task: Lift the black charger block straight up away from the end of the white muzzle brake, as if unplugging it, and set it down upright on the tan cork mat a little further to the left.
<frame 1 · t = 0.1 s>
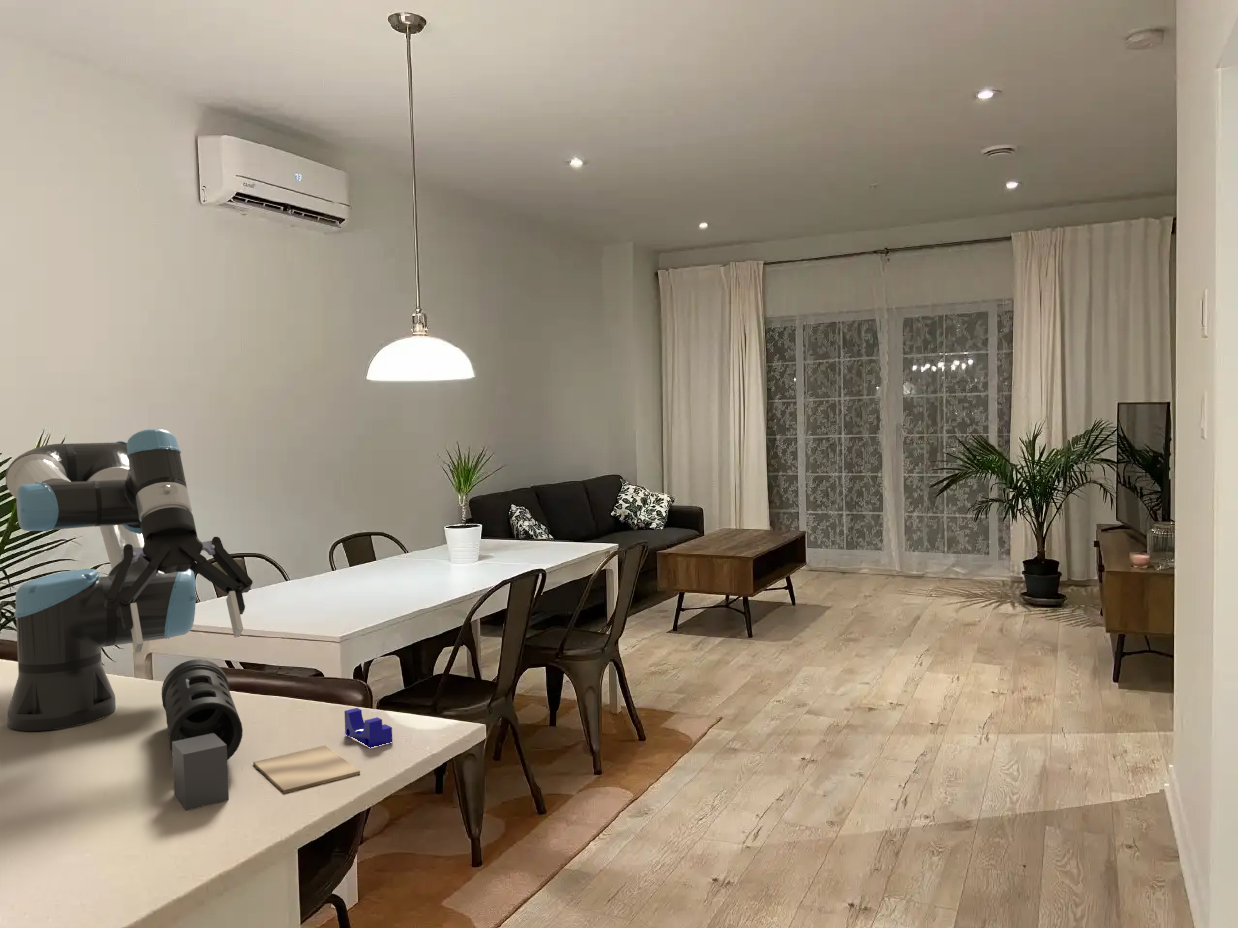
hand: (190, 640, 136), 15 cm above the kitchen counter, tool tilted 35°, fingers open, 13 cm apart
muzzle brake: (201, 747, 136), on the kitchen counter
cable holder: (368, 741, 137), on the kitchen counter
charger: (201, 798, 116), on the kitchen counter
mat: (305, 769, 125), on the kitchen counter
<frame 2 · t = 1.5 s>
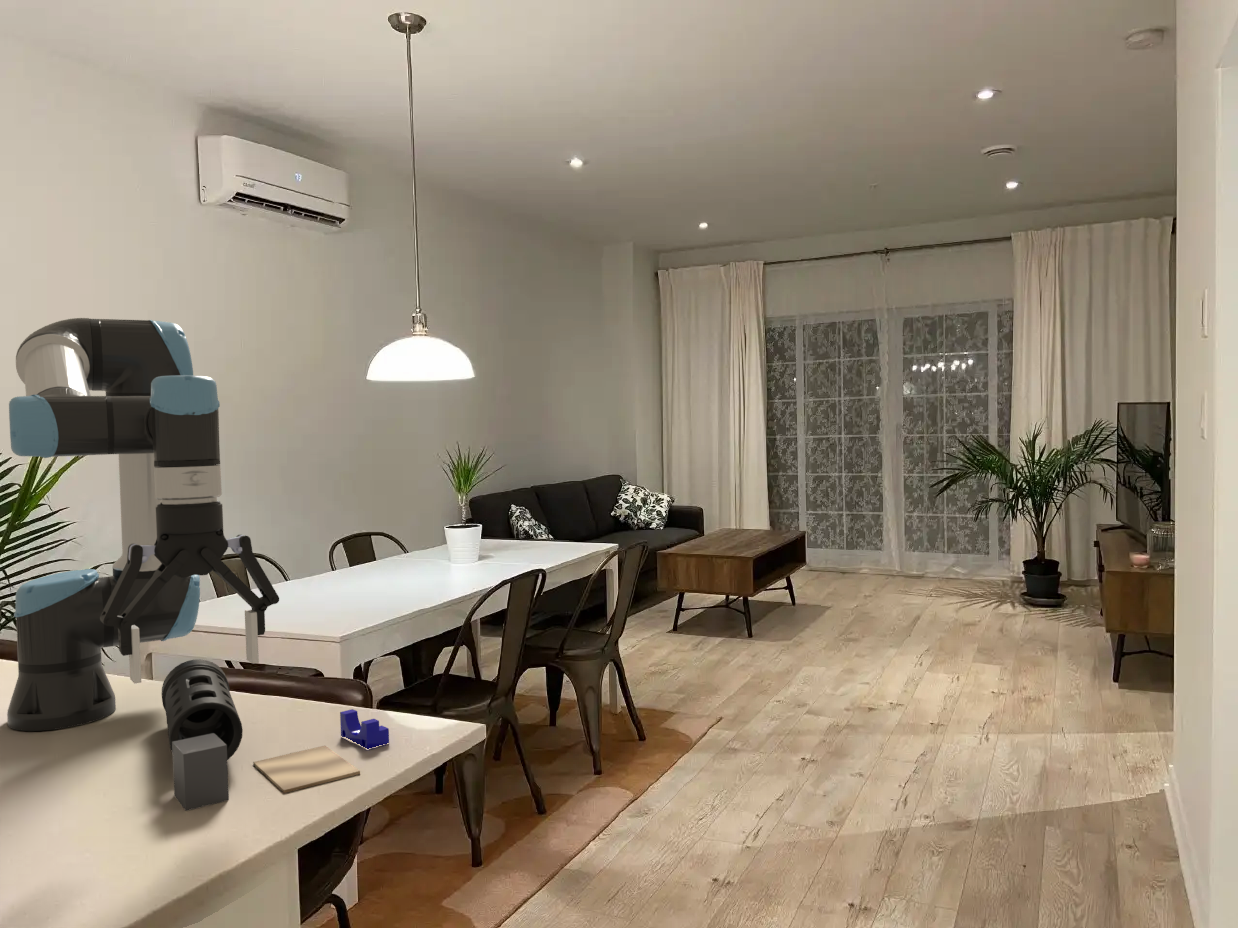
hand: (196, 670, 115), 16 cm above the kitchen counter, tool pointing down, fingers open, 13 cm apart
nothing on the kitchen counter moved.
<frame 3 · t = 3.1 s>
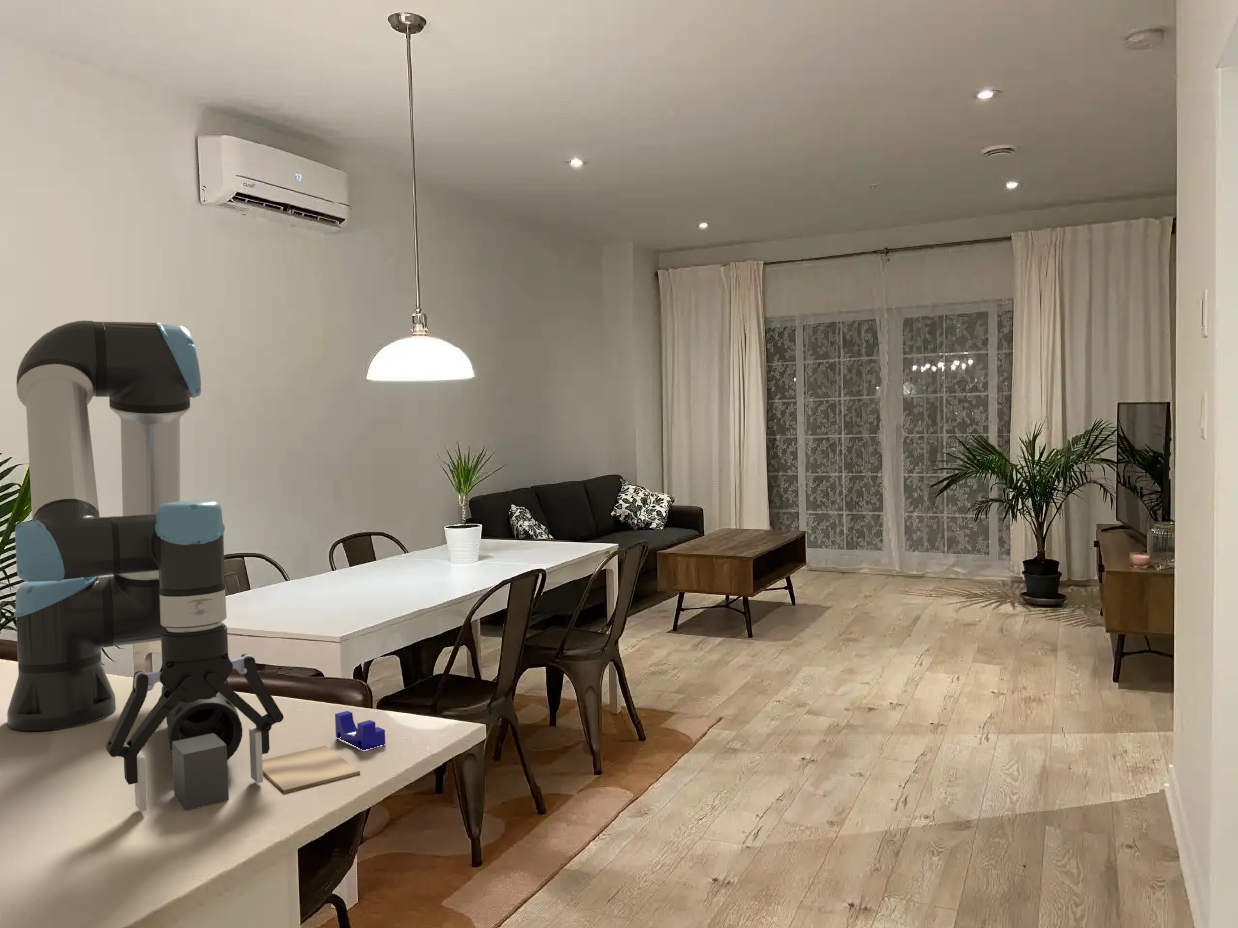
hand: (201, 793, 116), 1 cm above the kitchen counter, tool pointing down, fingers open, 13 cm apart
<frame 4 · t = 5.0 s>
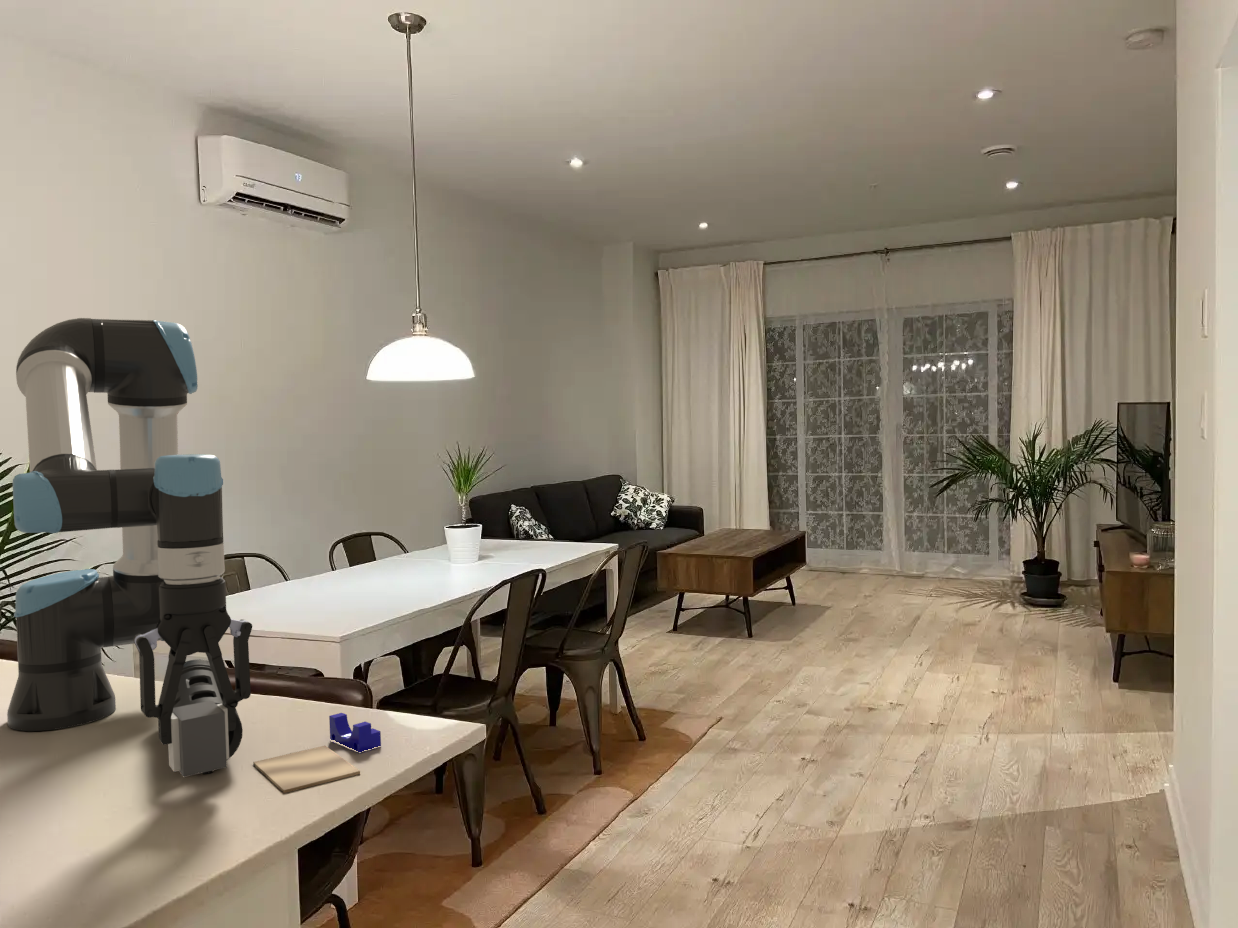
hand: (199, 761, 116), 4 cm above the kitchen counter, tool pointing down, fingers closed on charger, 5 cm apart
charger: (199, 764, 116), point 4 cm above the kitchen counter, touching gripper
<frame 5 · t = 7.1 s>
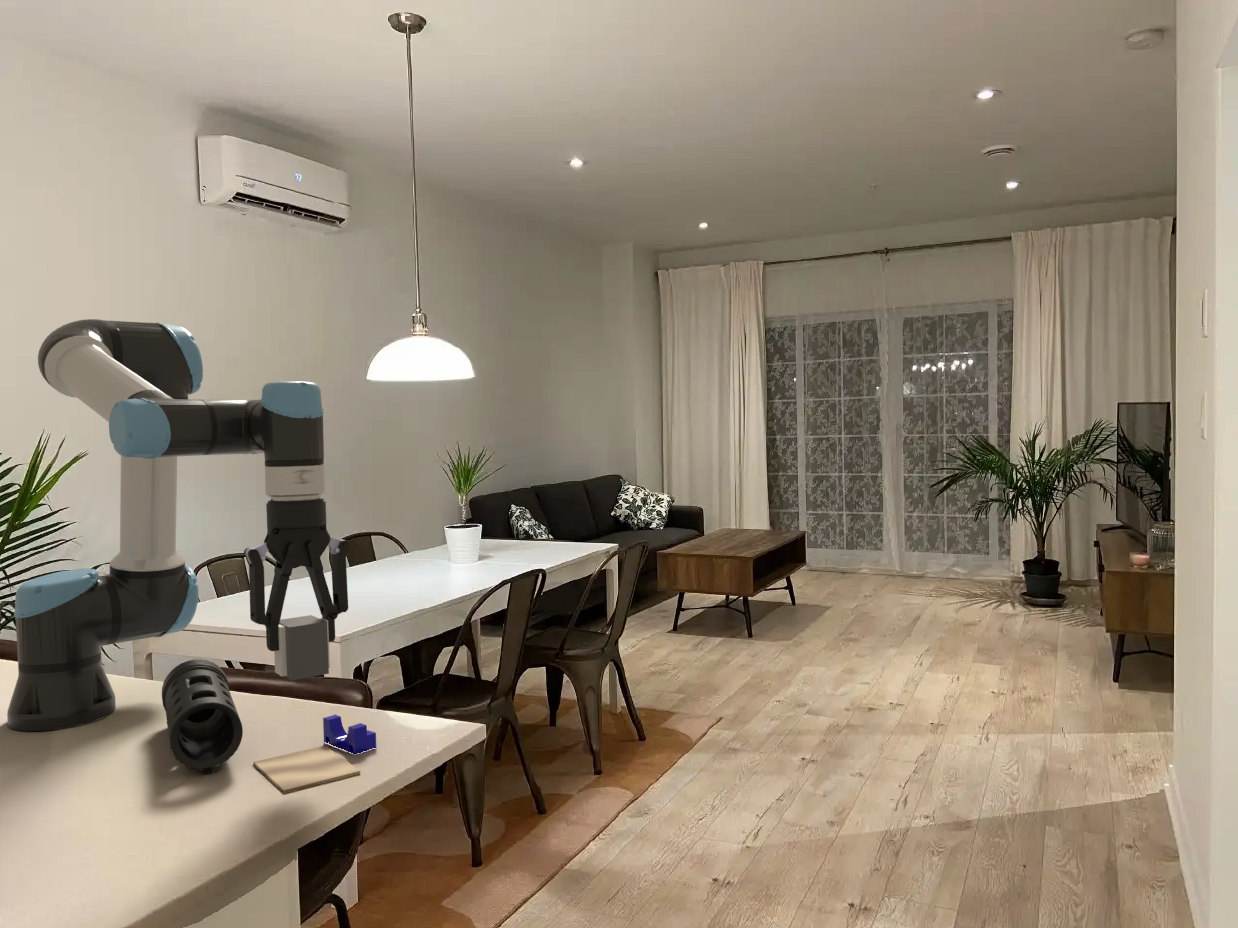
hand: (302, 669, 125), 14 cm above the kitchen counter, tool pointing down, fingers closed on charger, 5 cm apart
cable holder: (350, 748, 134), on the kitchen counter
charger: (302, 672, 125), point 13 cm above the kitchen counter, touching gripper
everything else where it was.
when the fingers open (1 cm above the kitchen counter, at t = 9.5 s): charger stays where it is, resting on mat.
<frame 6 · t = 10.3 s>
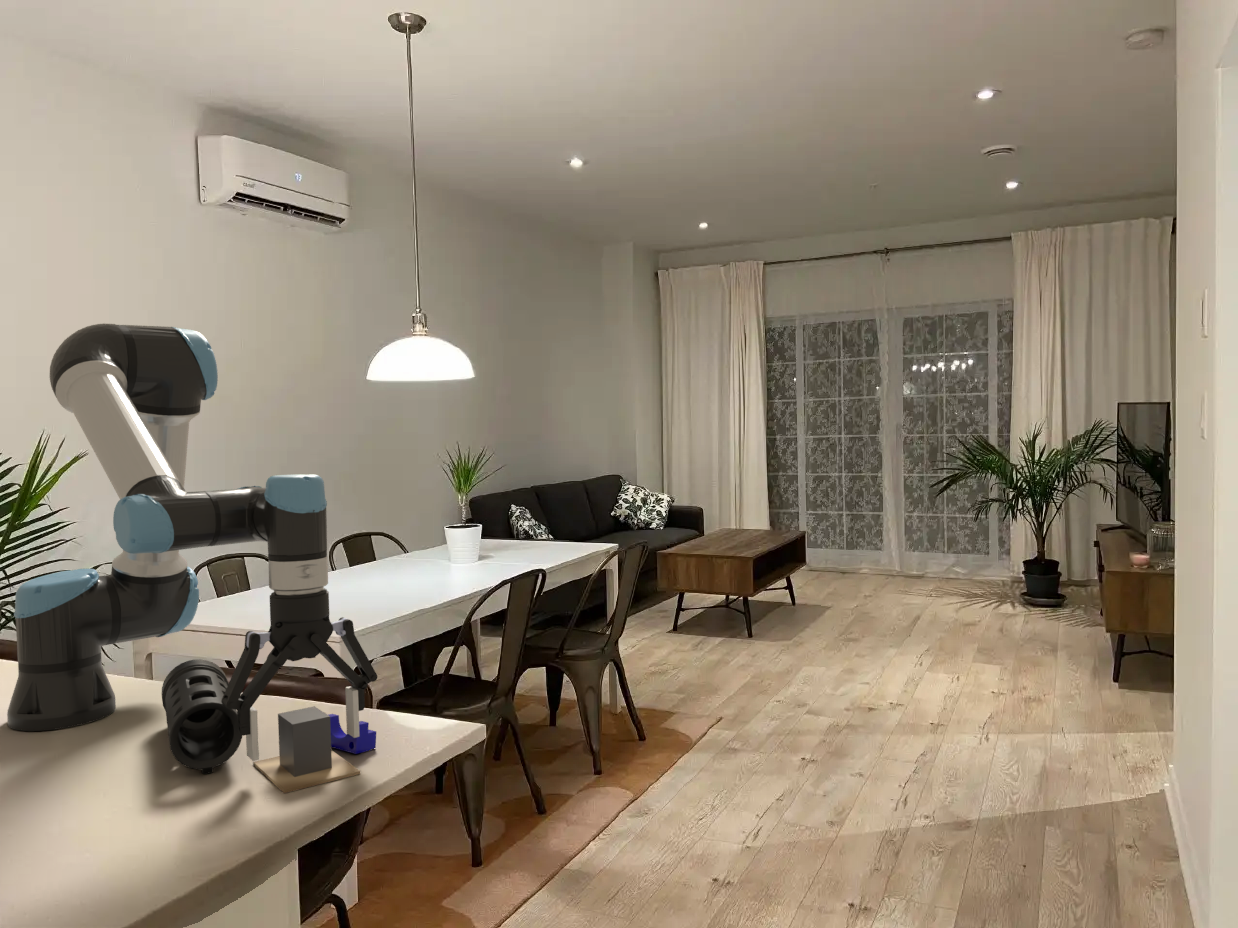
hand: (304, 746, 125), 3 cm above the kitchen counter, tool pointing down, fingers open, 13 cm apart
cable holder: (347, 747, 133), on the kitchen counter, touching gripper
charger: (305, 765, 125), resting on mat
everything else where it was.
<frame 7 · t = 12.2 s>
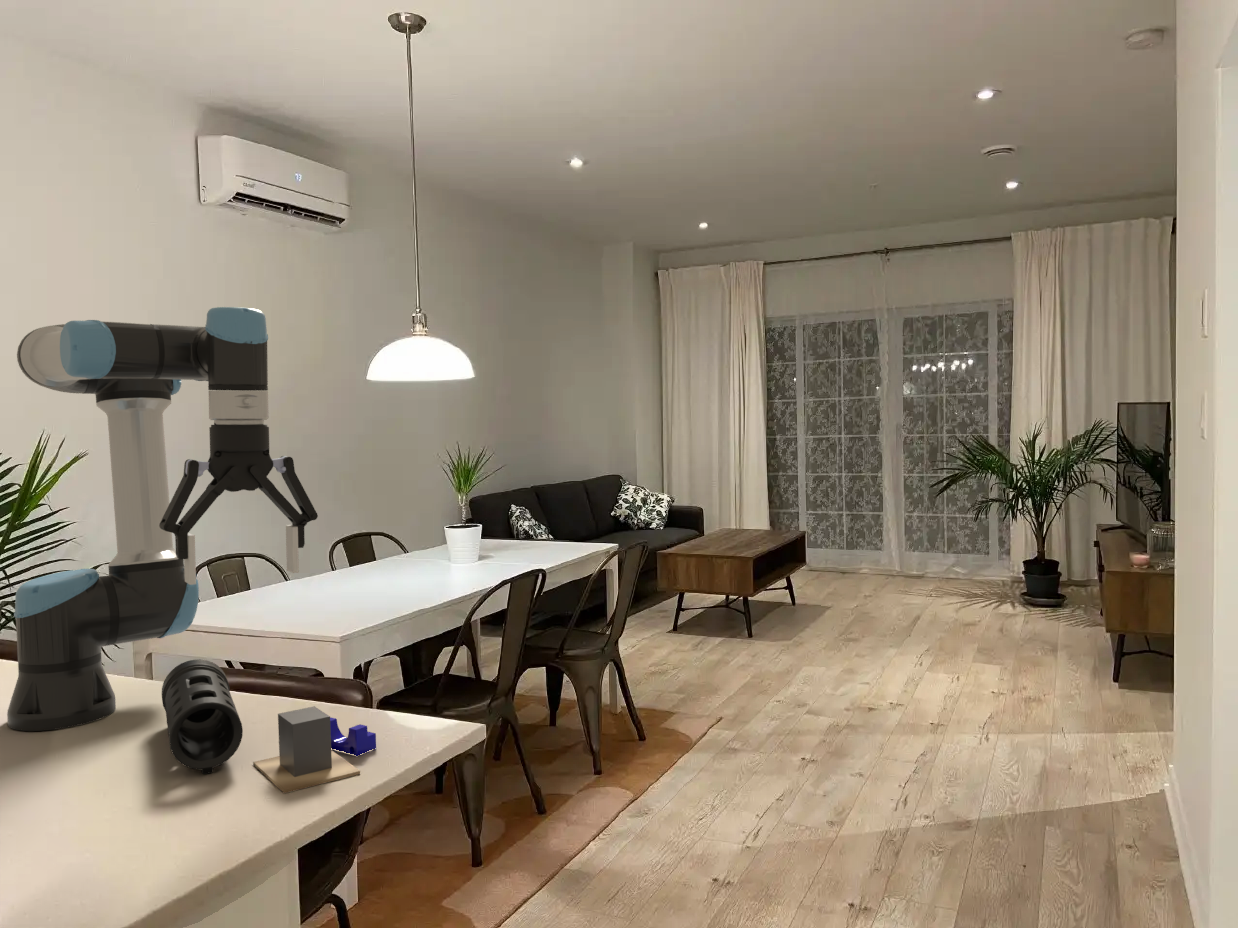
hand: (243, 577, 127), 26 cm above the kitchen counter, tool pointing down, fingers open, 13 cm apart
cable holder: (347, 750, 133), on the kitchen counter
everything else where it was.
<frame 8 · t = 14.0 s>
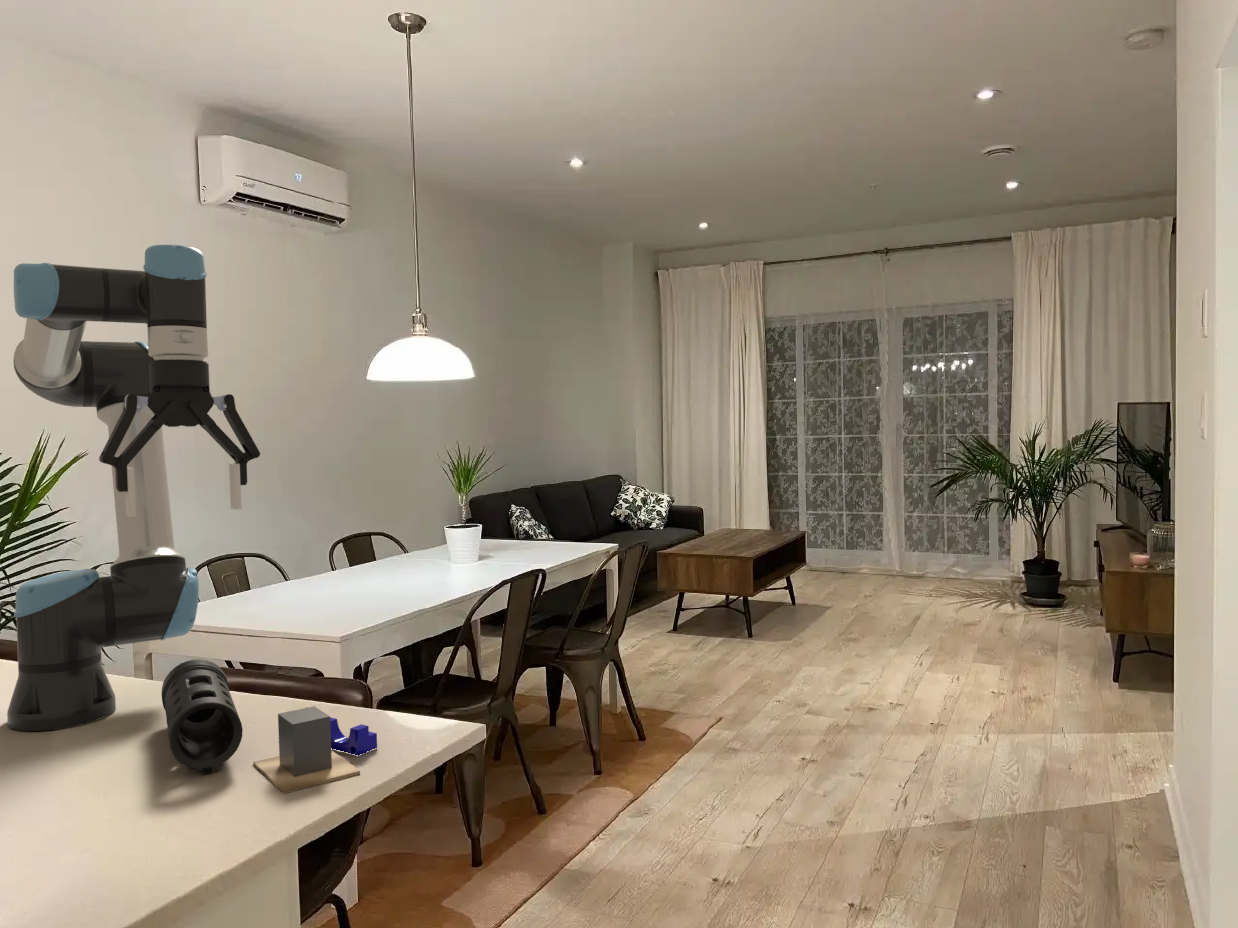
hand: (185, 512, 129), 35 cm above the kitchen counter, tool pointing down, fingers open, 13 cm apart
nothing on the kitchen counter moved.
at the end: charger inside the target area on the mat (0.1 cm from its centre), point 0.4 cm above the mat's base; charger tilted 0°; the gripper is holding nothing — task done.
